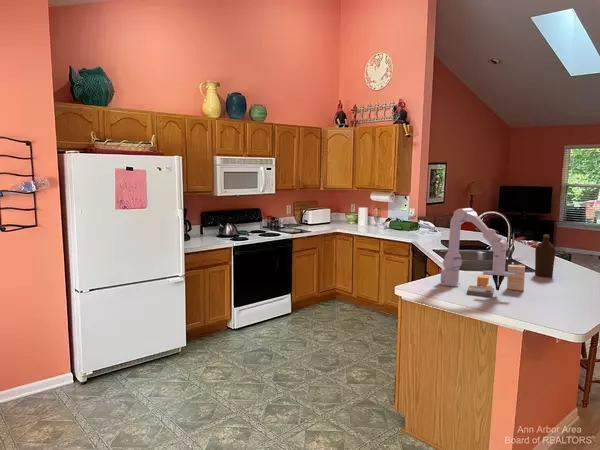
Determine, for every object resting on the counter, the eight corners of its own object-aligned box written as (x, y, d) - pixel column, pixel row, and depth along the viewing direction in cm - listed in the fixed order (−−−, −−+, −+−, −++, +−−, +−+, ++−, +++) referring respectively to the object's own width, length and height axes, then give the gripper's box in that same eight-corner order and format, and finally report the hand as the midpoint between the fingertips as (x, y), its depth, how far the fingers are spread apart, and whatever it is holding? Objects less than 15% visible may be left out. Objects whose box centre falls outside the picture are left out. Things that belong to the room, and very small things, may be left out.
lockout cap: (476, 287, 236) (477, 277, 235) (477, 285, 240) (478, 275, 240) (487, 289, 233) (488, 278, 232) (488, 286, 238) (488, 276, 237)
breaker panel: (467, 294, 224) (467, 289, 223) (469, 289, 233) (469, 284, 233) (492, 297, 218) (492, 292, 218) (493, 291, 228) (494, 286, 228)
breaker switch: (486, 290, 222) (486, 285, 221) (486, 289, 224) (486, 284, 224) (491, 290, 221) (491, 285, 220) (491, 289, 223) (492, 284, 222)
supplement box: (524, 289, 232) (525, 265, 231) (523, 291, 228) (525, 267, 226) (507, 287, 236) (508, 264, 235) (506, 289, 232) (507, 265, 231)
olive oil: (549, 278, 256) (552, 236, 253) (530, 275, 264) (533, 234, 261) (556, 275, 263) (559, 235, 260) (538, 272, 271) (540, 233, 268)
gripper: (482, 263, 218) (481, 290, 220) (514, 266, 212) (513, 293, 214) (484, 261, 225) (482, 286, 226) (515, 264, 218) (513, 290, 220)
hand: (497, 289), depth 220 cm, fingers closed
